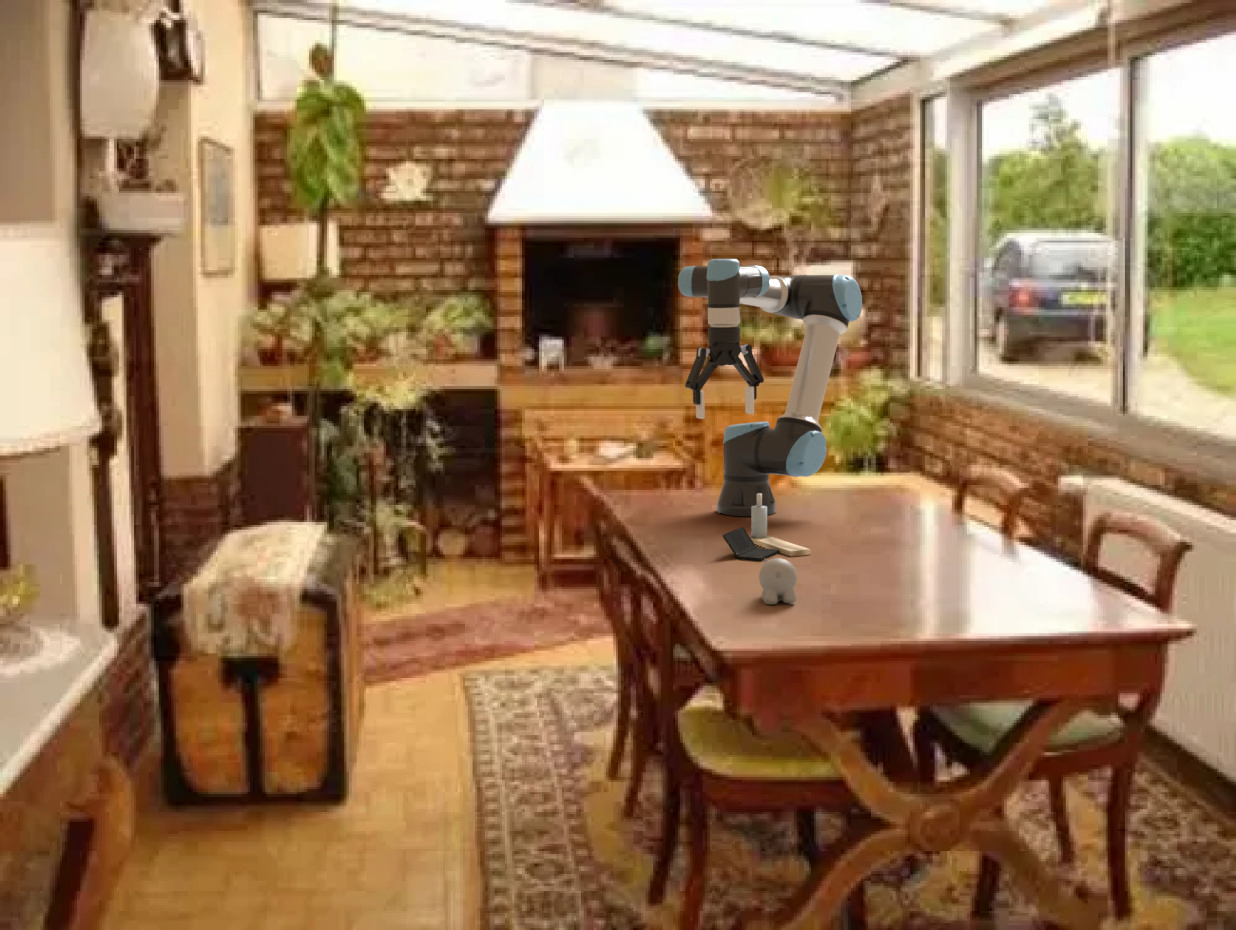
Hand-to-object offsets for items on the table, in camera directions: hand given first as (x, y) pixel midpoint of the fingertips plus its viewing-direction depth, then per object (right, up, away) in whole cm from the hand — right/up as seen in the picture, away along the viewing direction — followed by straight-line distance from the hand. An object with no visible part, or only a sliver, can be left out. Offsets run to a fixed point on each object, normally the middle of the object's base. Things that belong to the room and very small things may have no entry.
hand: (725, 416), depth 363 cm
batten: (+11, -30, -14) cm, 35 cm away
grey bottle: (+7, -28, -7) cm, 30 cm away
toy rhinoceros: (+5, -38, -66) cm, 76 cm away
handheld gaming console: (+4, -32, -22) cm, 39 cm away
